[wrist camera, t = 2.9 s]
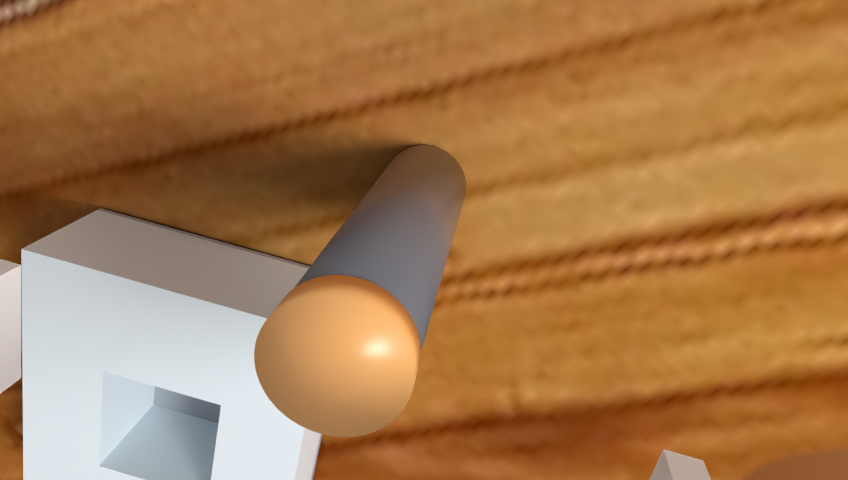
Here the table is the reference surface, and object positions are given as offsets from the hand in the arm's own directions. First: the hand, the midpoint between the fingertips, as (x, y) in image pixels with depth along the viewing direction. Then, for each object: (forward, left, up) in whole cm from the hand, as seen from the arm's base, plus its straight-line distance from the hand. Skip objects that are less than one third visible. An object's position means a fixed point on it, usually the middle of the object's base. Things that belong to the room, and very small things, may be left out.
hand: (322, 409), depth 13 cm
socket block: (-8, -12, -15) cm, 21 cm away
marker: (0, 0, -15) cm, 15 cm away
